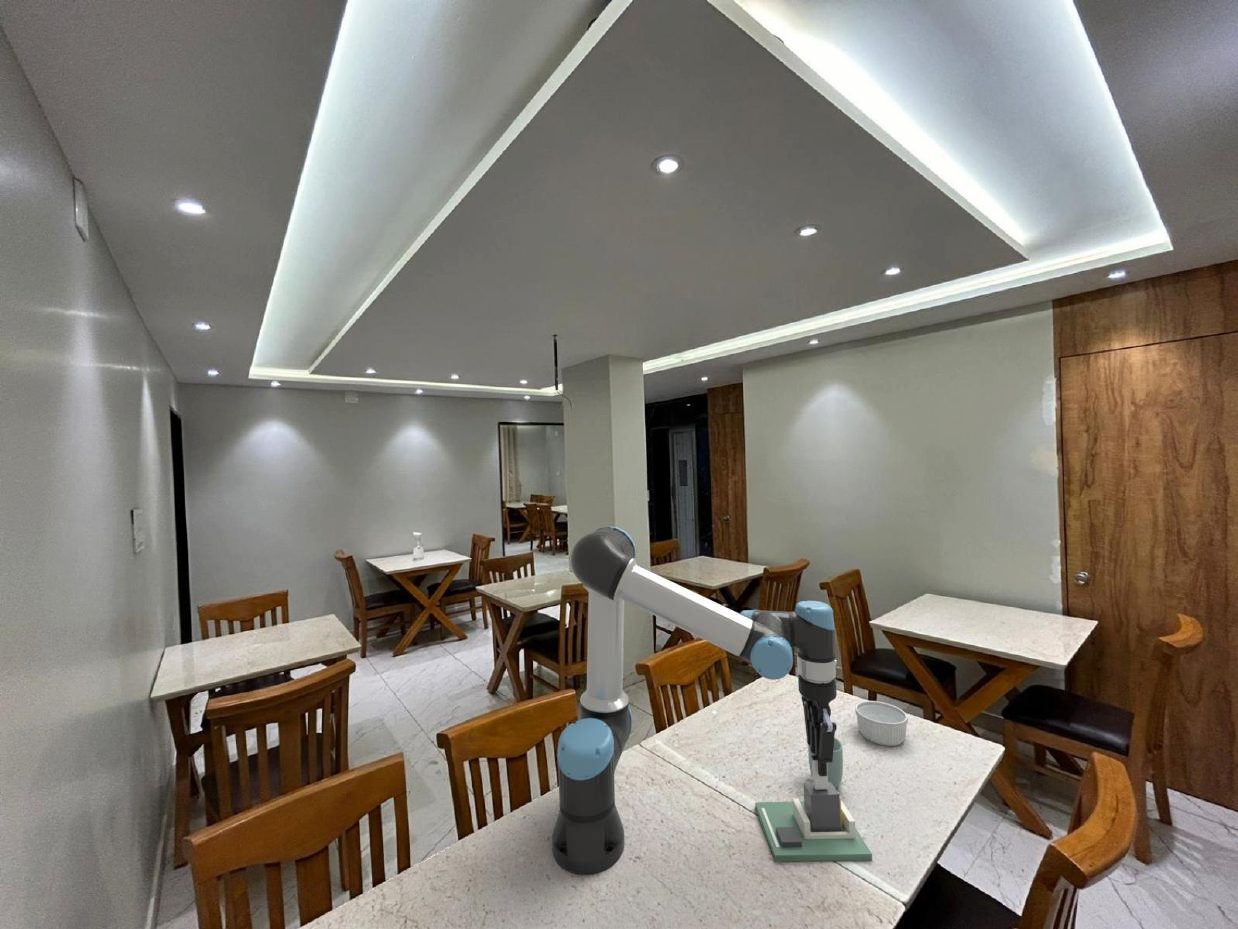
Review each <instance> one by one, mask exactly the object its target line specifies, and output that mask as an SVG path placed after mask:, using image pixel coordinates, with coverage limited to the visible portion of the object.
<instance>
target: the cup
mask: <svg viewBox="0 0 1238 929" xmlns="http://www.w3.org/2000/svg"><path fill="white" fill-rule="evenodd" d="M807 751H808V755H807V756H808V765H809V771H810V775H811V778H812V779H813V775H812V754H813V753H811V750H810V745H808V744H807ZM843 753H844V752H843V744H842V742H841V741H840V740H839V739H838V738H837V737H835V736H834V748H833V761H832V762H827V763H828V782H832V784H833V785H834V787H835V788H836V789H837V788H838V787H839V786H840V785H841V783H842V781H843V775H844V754H843Z"/></svg>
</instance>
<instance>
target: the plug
mask: <svg viewBox="0 0 1238 929" xmlns="http://www.w3.org/2000/svg"><path fill="white" fill-rule="evenodd" d="M841 800H842V798H841V797H840V793H839V792H838V790H837V788H835V787H834V785H833V784H832V782H828V789H815V788H814V786H813V781H811V782H807V781H806V782H805V781H804V782H803V802H804V811H805V813H806V815H807V817H808V819H809V821H810V831H811V832H841V827H842V818H841Z"/></svg>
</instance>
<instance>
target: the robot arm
mask: <svg viewBox="0 0 1238 929" xmlns="http://www.w3.org/2000/svg"><path fill="white" fill-rule="evenodd" d="M636 552H637V549H636V544H635V542H634V540H633V538H632V536H631V535H630V534H629V533H628V532H627V531H626V530H624V529H622V528H620V527H617V526H602V527H599V528H597V529H596V530H593V531H592V532H590V533H588V534H586V535H584V536H583V537H581V538H580V539H579V540H578V541H577V542H576V543H575V544H574V546H573V548H572V550H571V554H570V565H571V569H572V572H573V574H574V576H575V577H576V578H577V580H578V581H579V582H580V583H582V587H583V588H584V589H585V590H586V591H587V592H588V607H587V612H588V613H587V615H588V616H587V653H586V654H587V656H586V657H587V658H586V661H587V665H586V690H585V691H584V692H583V693H581V695H580V699H579V720H576V721H575V723H570V724H569V725H567V726H566V727H565V728H564V729H563V731H562V732H561V734H560V736H559V739H558V743H557V746H558V747H557V753H556V757H557V760H556V761H557V767H558V768H557V770H558V771H557V772H558V794H559V795H558V796H559V798H558V800H559V811H558V813H557V816H556V820H555V824H554V827H553V828H554V829H553V832H552V834H551V835H552V837H551V838H552V839H551V845H552V846H551V847H552V848H551V849H552V855H553V857H554V860H555V862H557V864H558V866H560V867H561V868H563V869H564V870H566V871H568V872H570V873H573V874H578V875H590V874H595V873H600V872H603V871H605V870H607V869H609V868H611V866H613V865H614V864H615V863H616V862H617V861H618V860H619V859H620V857H621V856H622V854H623V852H624V848H625V829H624V826H623V823H622V819H621V817H620V814H619V811H618V808H617V806H616V800H615V799H616V796H615V795H616V791H615V788H616V787H615V773H616V769H617V766H618V763H619V762H620V758H621V757H622V754H623V751H624V748H625V746H626V744H627V742H628V740H629V738H630V735H631V733H632V728H633V714H632V711H631V707H630V706H629V705H630V704H629V703H630V702H629V700H630V699H629V695H628V694H627V693H626V692H625V691H624V689H623V687H624V686H623V684H624V639H625V636H624V635H625V634H624V633H625V630H624V629H625V602H626V603H629V604H631V605H633V606H635V607H637V608H639V609H641V610H643V611H645V612H646V613H647V612H648V613H649V614H651V615H653V616H655V617H658V618H660V619H661V620H664V621H666V622H667V623H670V624H672V625H674V626H676V627H677V628H679V629H682V630H684V631H686V632H688V633H690V634H691V635H694V636H696V637H698V638H700V639H702V640H704V641H707V642H708V643H710V644H712V645H714V646H716V647H718V648H720V649H722V650H724V651H726V652H728V653H731V654H732V655H734V656H737V657H739V658H741V659H743V660H745V661H746V662H748V663H750V664H751V665H752V667H753V668H754V670H755V671H756V673H758V674H759V675H760V676H761V677H762V678H765V679H767V680H774V681H775V680H780V679H783V678H785V677H786V676H787V675H788V674H789V673H790V672H791V671H792V668H793V664H794V660H793V659H794V656H793V654H794V653H793V649H797V654H796V655H797V657H796V658H797V659H796V660H797V673H798V675H797V676H798V677H797V680H798V685H797V686H798V692H799V694H800V695H801V697H800V698H801V701H802V702H801V703H802V707H803V715H804V725H805V732H806V744H807V746H808V745H810V750H811V753H813V754H812V775H813V778H812V782H813V786H814V788H815V789H828V763H827V762H832V761H833V748H834V737H835V734H836V731H837V728H838V727H837V722H832V721H831V714H832V710H831V706H830V703H831V702H832V701H834V700H835V699H836V698H837V696H838V694H837V693H838V691H837V680H836V676H837V675H836V674H837V672H836V670H837V669H836V665H838V661H837V660H836V641H835V638H836V636H835V630H836V627H835V621H834V620H835V619H834V611H833V610H834V609H833V608H832V607H831V606H830V605H829V604H828V603H825V602H823V601H816V600H802V601H799V602H797V603H796V604H795V610H793V611H792V610H791V611H781V610H780V611H779V610H764V609H763V610H762V609H761V610H760V609H750V610H749V609H747V610H742V611H740V613H739V612H737V611H734V610H732V609H731V608H728V607H726V606H724V605H722V604H720V603H718V602H716V601H713V600H711V599H710V598H707V597H705V596H703V595H701V594H699V593H696V592H695V591H693V590H690V589H688V588H686V587H684V586H681V585H679V584H678V583H675V582H673V581H671V580H669V579H667V578H665V577H663V576H661V575H659V574H656V573H654V572H652V571H650V570H648V569H646V568H645V567H644V568H643V567H642V566H639V565H638V563H637V560H636V559H635V558H636ZM812 775H811V776H812Z"/></svg>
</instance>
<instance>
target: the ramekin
mask: <svg viewBox="0 0 1238 929" xmlns="http://www.w3.org/2000/svg"><path fill="white" fill-rule="evenodd" d="M855 715H856V719H857V726H858V730H859V732H860V733H861V734H862V736H863V737H864V738H865V739H867V740H868V741H870V742H872V743H874V744H877V745H880V746H886V747H893V746H894V747H895V746H899V745H901V744H903V743H904V742H905V739H906V737H907V728H908V726H907V725H908V723H909V718H908V714H907V713H906V712H905V711H904V710H903V709H901V708H900V707H897V706H895V705H893V704H890V703H887V702H882V701H876V700H866V701H860V702H859V703H857V704H856V705H855Z"/></svg>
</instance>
